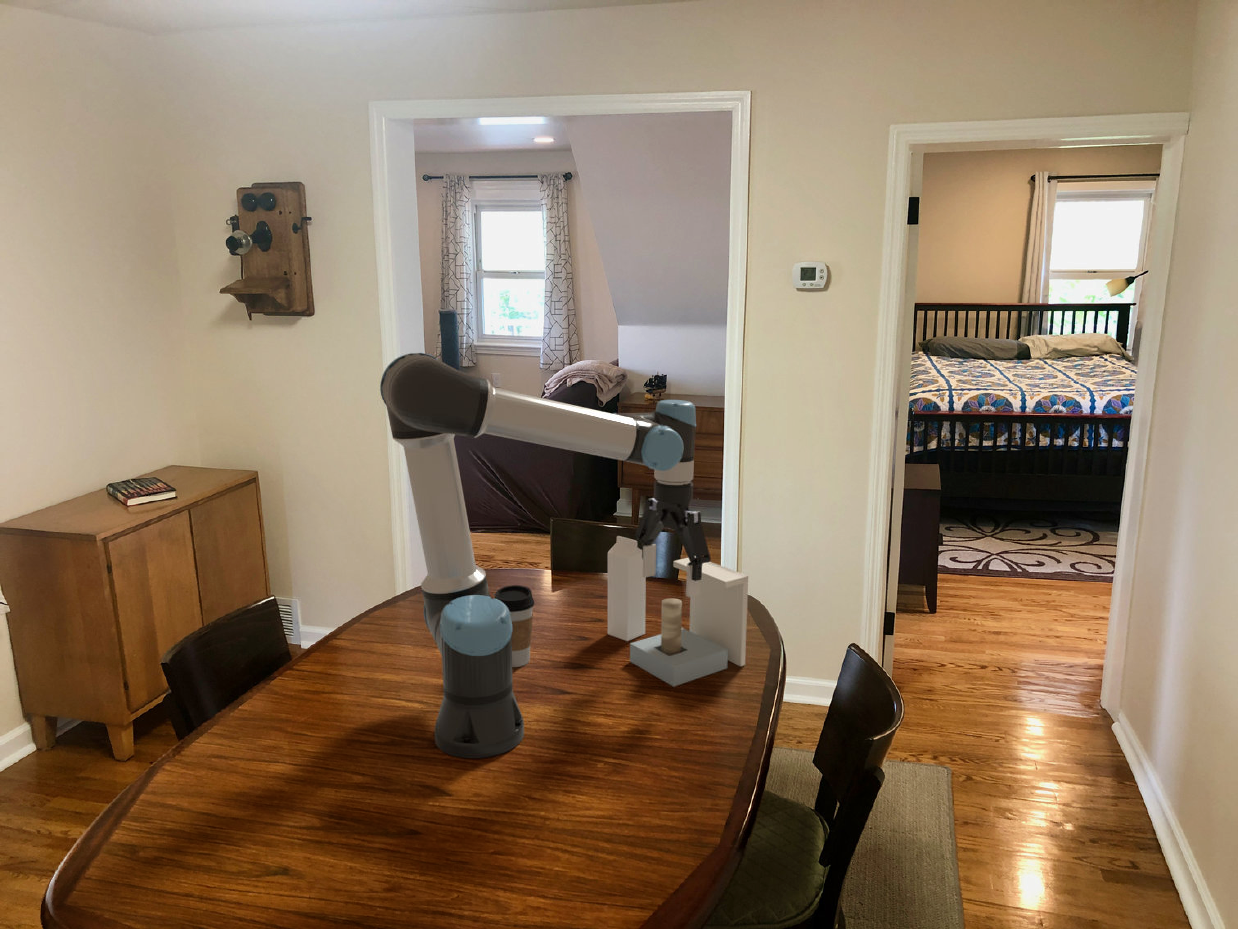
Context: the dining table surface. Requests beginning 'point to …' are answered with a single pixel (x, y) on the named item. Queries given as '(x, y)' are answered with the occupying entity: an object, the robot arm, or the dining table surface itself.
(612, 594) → the milk
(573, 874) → the dining table surface
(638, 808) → the dining table surface
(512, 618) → the coffee cup
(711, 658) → the socket block
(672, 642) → the birch peg
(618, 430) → the robot arm
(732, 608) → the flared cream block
